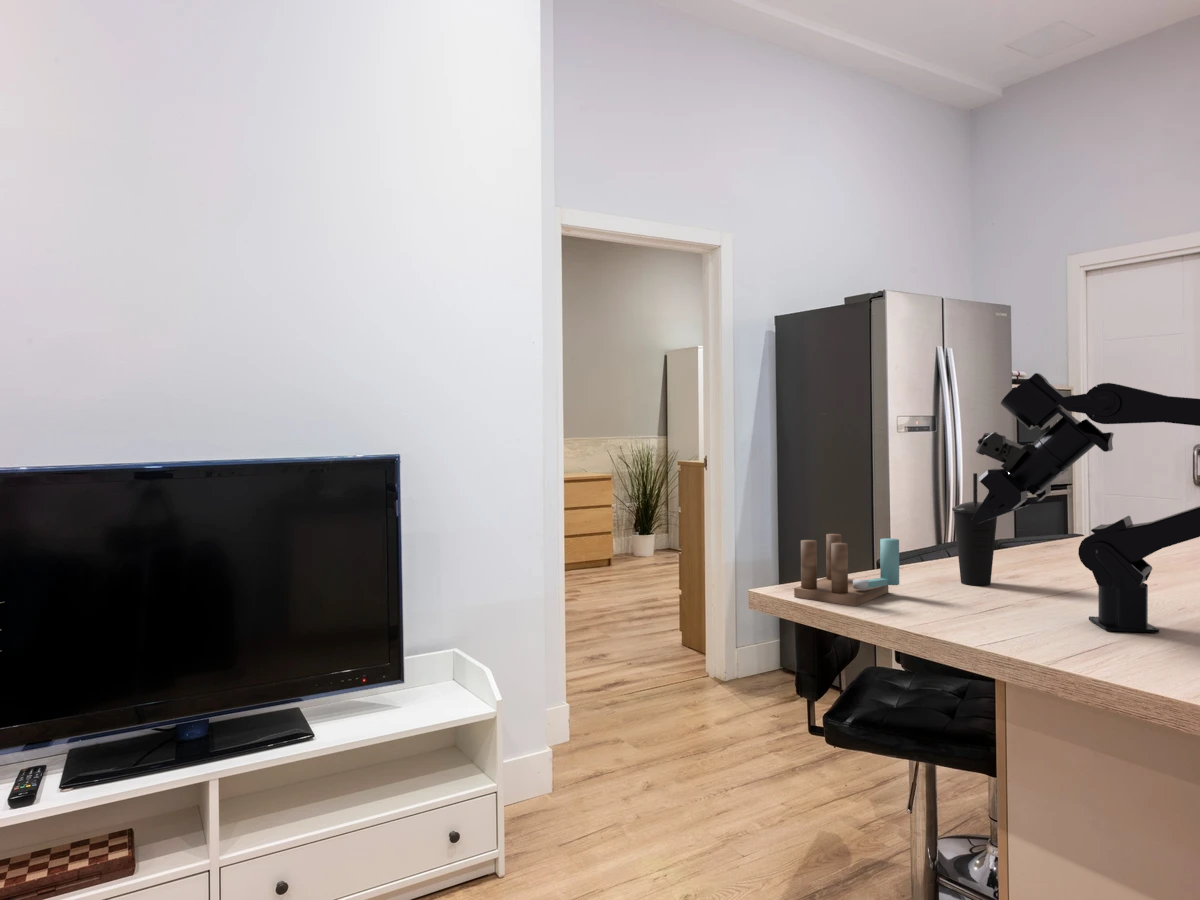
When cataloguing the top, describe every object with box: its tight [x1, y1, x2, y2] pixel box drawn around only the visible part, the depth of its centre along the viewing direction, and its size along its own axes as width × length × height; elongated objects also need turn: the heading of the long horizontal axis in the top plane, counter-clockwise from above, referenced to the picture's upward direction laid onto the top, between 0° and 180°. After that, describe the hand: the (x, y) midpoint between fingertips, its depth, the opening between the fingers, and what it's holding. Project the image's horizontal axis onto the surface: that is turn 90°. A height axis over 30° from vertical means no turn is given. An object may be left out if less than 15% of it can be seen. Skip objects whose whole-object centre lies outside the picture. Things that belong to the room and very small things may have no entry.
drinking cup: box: [951, 472, 998, 587], centre depth 137 cm, size 8×8×20 cm
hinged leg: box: [853, 537, 900, 590], centre depth 127 cm, size 10×3×8 cm, turn 118°
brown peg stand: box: [793, 533, 889, 607], centre depth 130 cm, size 11×13×10 cm
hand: (974, 521), depth 119 cm, fingers closed
